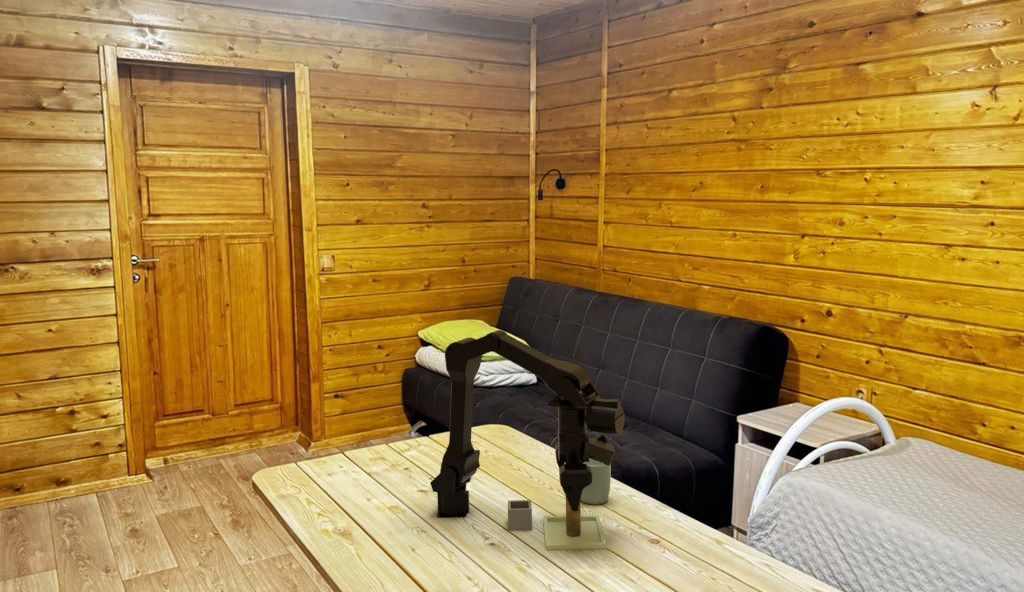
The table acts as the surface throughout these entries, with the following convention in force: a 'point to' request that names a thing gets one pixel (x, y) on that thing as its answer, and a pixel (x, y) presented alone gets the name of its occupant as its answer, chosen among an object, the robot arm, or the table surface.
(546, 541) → the tray
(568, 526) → the dowel
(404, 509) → the table surface
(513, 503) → the pen cup
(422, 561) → the table surface
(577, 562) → the table surface
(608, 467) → the cup
